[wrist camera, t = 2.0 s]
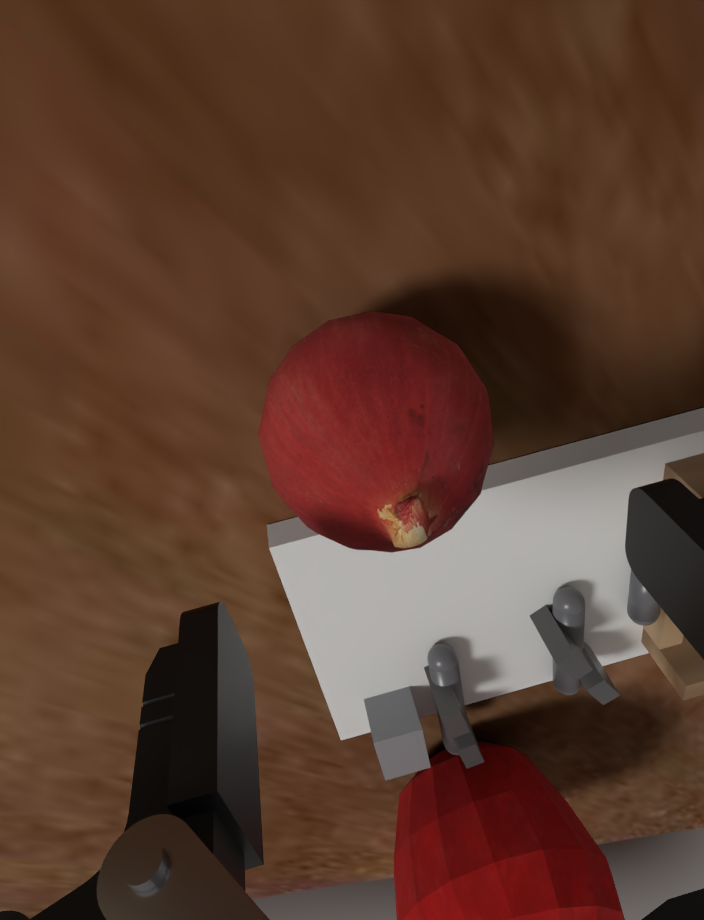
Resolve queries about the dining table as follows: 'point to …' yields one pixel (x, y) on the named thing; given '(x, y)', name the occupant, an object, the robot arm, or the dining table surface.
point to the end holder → (663, 635)
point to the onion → (377, 432)
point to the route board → (484, 595)
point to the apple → (495, 846)
